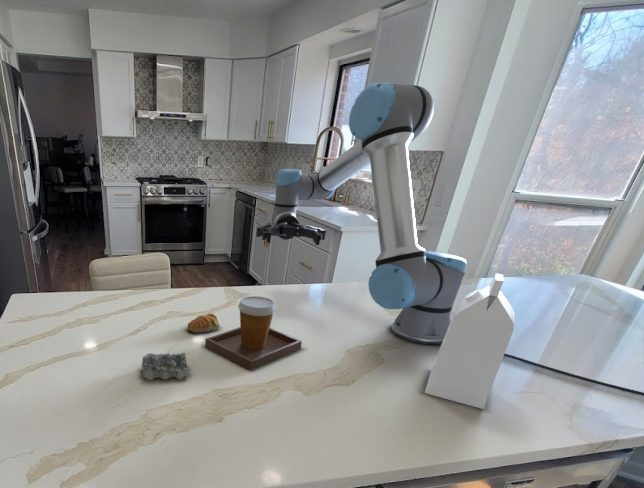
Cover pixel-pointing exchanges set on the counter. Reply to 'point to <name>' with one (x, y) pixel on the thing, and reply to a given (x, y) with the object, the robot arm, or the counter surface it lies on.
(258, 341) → the disposable coffee cup
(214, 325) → the pastry
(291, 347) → the serving tray
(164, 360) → the egg carton
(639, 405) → the counter surface
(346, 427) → the counter surface
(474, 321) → the milk
